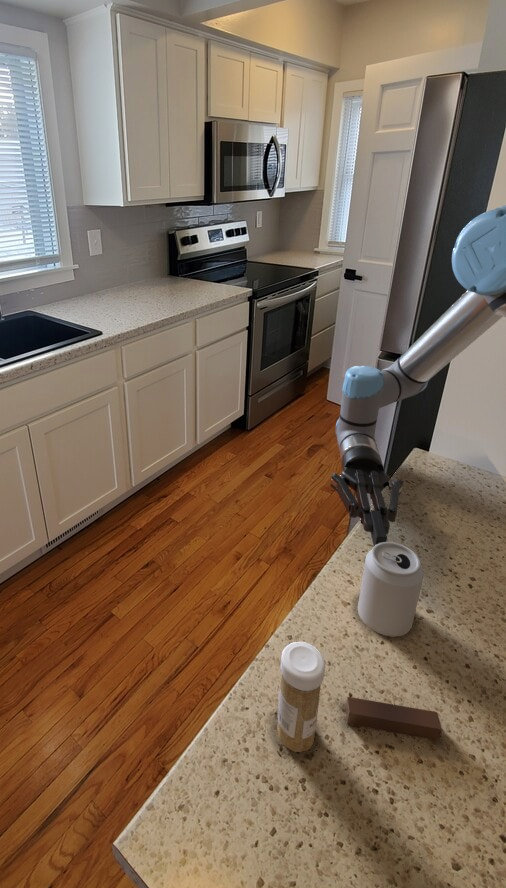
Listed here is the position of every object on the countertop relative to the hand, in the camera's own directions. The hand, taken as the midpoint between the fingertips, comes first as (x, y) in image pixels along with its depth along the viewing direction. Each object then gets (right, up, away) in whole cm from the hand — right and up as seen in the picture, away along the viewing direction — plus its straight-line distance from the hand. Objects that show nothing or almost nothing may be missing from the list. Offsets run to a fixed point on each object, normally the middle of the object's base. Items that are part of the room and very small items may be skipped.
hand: (380, 543), depth 76 cm
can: (-1, -10, -4) cm, 11 cm away
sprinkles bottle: (-18, -17, -19) cm, 31 cm away
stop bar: (-6, -16, -18) cm, 25 cm away
